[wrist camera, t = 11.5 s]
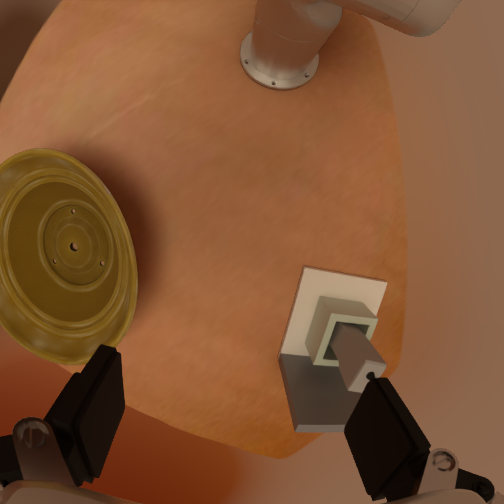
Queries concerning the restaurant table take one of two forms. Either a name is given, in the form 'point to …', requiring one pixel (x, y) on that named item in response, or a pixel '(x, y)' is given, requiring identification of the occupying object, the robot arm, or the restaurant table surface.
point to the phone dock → (324, 345)
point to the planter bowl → (63, 258)
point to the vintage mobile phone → (355, 356)
